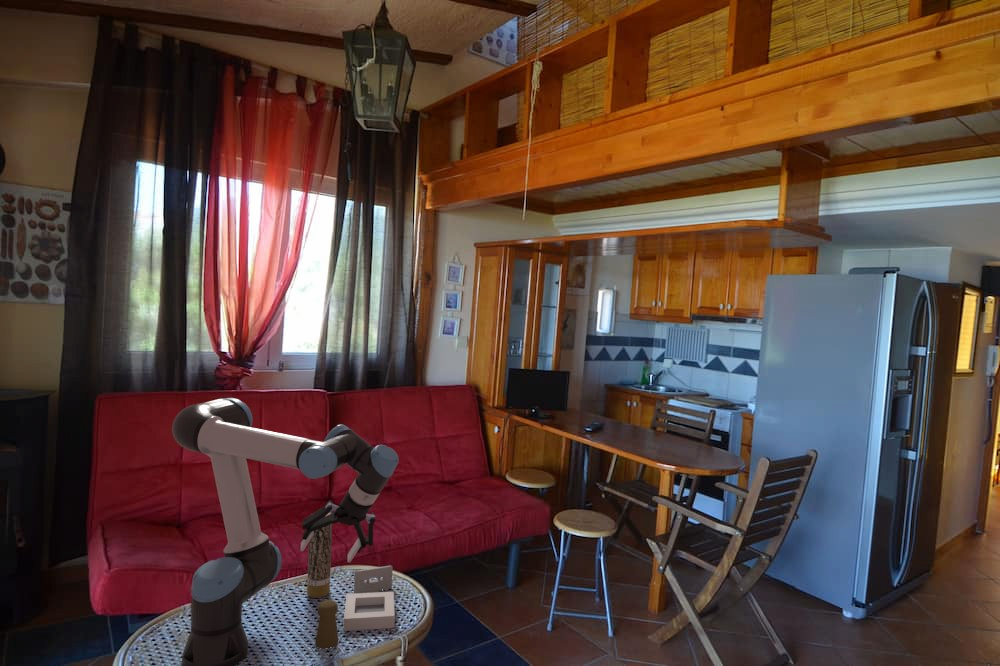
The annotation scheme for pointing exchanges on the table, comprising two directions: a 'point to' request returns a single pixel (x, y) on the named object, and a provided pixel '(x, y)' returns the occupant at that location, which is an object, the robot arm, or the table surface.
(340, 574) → the table surface
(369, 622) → the socket block
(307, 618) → the table surface
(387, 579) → the cassette
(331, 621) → the cork
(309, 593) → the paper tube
